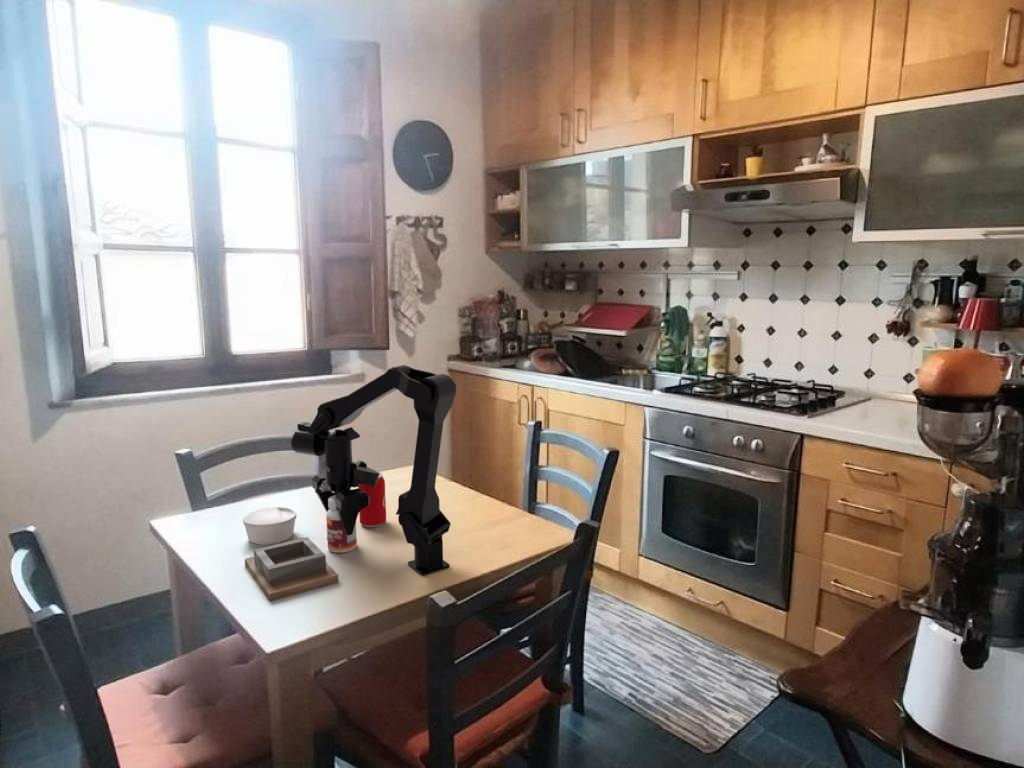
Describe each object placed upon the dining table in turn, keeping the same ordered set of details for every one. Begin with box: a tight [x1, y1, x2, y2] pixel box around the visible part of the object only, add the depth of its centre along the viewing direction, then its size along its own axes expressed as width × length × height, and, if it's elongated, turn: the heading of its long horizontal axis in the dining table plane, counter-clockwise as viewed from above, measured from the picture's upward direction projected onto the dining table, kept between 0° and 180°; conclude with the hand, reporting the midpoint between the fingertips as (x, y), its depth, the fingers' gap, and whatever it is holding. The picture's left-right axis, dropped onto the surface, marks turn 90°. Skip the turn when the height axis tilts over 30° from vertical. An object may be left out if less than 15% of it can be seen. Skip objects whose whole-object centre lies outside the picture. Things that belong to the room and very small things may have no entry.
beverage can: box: [357, 472, 387, 528], centre depth 154 cm, size 6×6×12 cm
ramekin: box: [242, 506, 297, 546], centre depth 147 cm, size 11×11×5 cm
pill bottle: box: [325, 495, 358, 554], centre depth 140 cm, size 6×6×11 cm
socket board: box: [244, 536, 340, 602], centre depth 129 cm, size 18×13×4 cm
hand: (341, 527), depth 140 cm, fingers open, 9 cm apart
